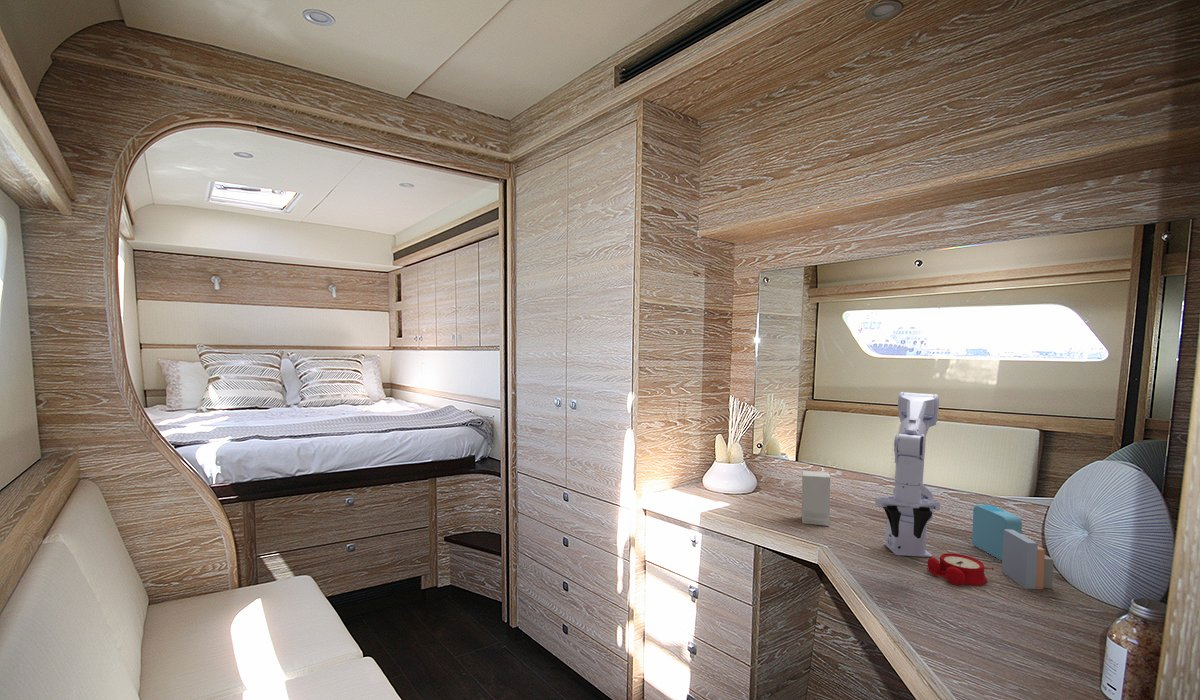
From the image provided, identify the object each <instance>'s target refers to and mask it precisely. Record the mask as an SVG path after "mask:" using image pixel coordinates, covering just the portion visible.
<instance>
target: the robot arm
mask: <svg viewBox="0 0 1200 700" xmlns="http://www.w3.org/2000/svg"><path fill="white" fill-rule="evenodd" d="M897 398H898V399H897V411H898V418H899V421H900V427H899V431H898V435H897V434H896V435H895V437H894V439H893V440H894V442H893V451H894V464H895V473H894V474H895V479H894V488H893V491H892V496H883V497H882V496H880V497H875V502H874V503H875V504H874V505H875V506H876V507H877V508H883V510H884V513H885V514H886V516H887V520H886V524H885V540H884V541H885V542H884V543H883V544H884V545H885V547H887V548H888V549H889V550H890V551H891V552H892V553H893V554H894V555H895V556H904V557H906V556H907V557H923V558H924V557H925V558H933V555H932V554H931V553H930V552H929V551H928V550H927V534H928V533H927V531H928V529H927V528H928V523H929V522H931V521H932V520H933V517H934V510H935V511H940V510H941V502H940V501H938V500H936V499H934V494H933V492H932V491H931V489H929V488H928V487H926V486H925V485H924V472H925V471H924V470H925V469H924V468H925V453H926V441H927V440H926V438H927V437H926V436H927V434H928V431H929V429H930V428H931V427H934V426H936V425H937V422H938V420H939V419H938V417H939V416H938V415H939V407H940V396H939V395H938V394H937V393H933V394H932V393H922V392H921V393H917V392H907V391H905V392H904V391H901V392H899V394H898V397H897Z"/></svg>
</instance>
